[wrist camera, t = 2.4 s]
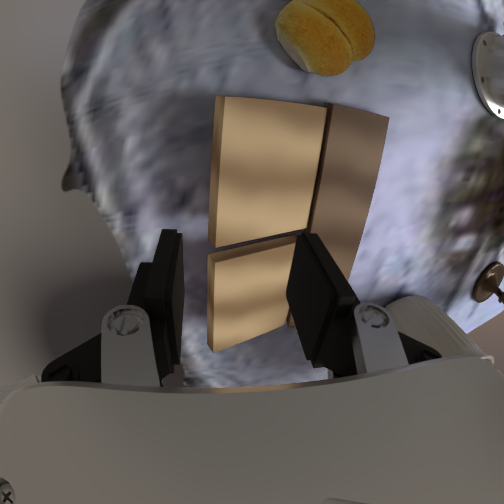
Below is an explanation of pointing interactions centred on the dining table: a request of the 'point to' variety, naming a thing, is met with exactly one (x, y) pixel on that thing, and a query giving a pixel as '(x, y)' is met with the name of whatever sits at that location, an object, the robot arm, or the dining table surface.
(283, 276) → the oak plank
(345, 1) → the bread roll
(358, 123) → the walnut floor strip
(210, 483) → the robot arm
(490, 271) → the candlestick
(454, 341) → the canister
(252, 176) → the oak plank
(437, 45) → the dining table surface
